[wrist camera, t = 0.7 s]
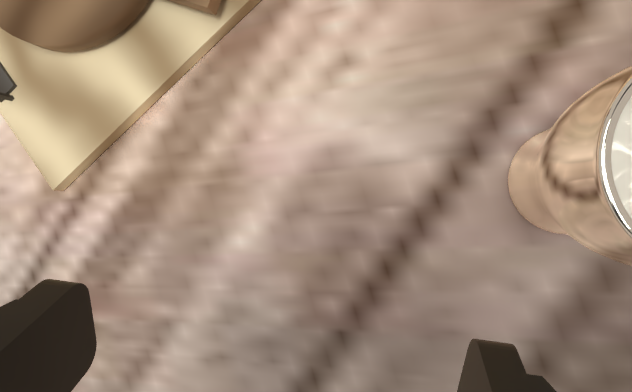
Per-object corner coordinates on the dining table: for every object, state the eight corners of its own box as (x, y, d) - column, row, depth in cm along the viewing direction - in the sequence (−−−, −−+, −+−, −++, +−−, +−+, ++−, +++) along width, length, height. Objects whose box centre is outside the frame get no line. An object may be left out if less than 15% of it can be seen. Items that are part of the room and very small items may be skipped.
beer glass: (505, 245, 27) (604, 301, 12) (493, 127, 27) (577, 41, 12) (639, 237, 25) (942, 289, 10) (626, 111, 25) (904, -10, 11)
